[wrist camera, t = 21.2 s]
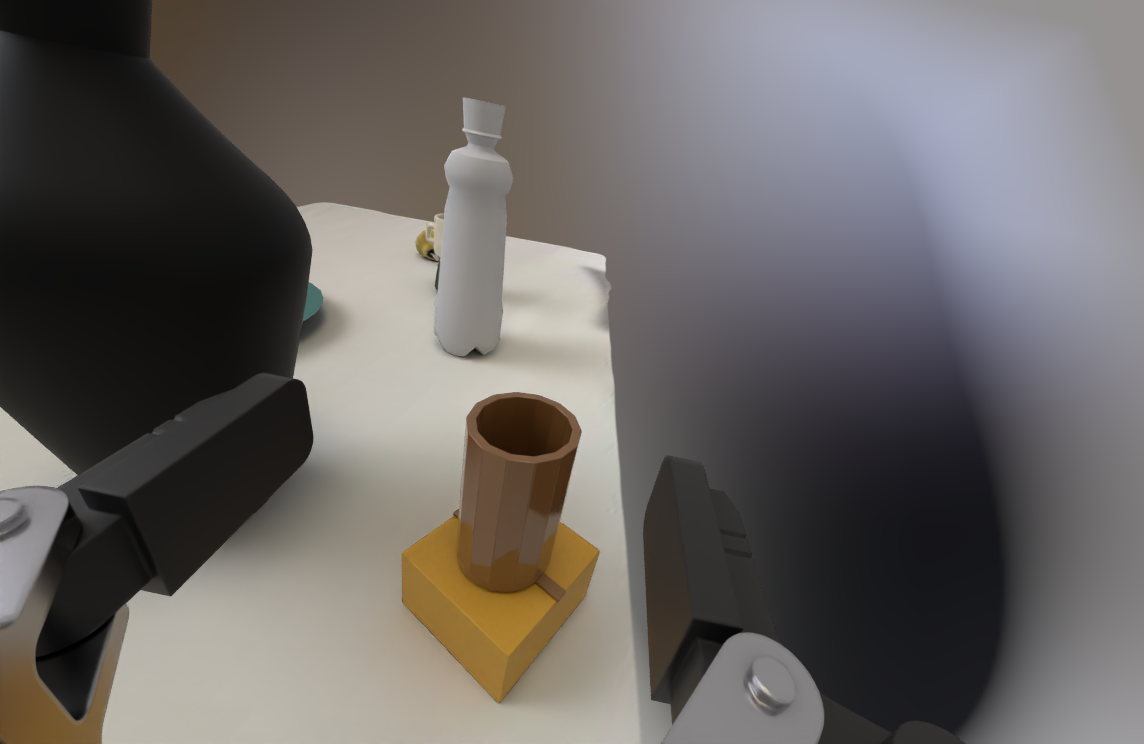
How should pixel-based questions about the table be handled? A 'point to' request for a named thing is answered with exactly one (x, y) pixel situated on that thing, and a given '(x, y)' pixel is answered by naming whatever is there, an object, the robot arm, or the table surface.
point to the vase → (128, 237)
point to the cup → (513, 488)
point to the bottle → (473, 236)
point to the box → (493, 604)
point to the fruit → (426, 246)
